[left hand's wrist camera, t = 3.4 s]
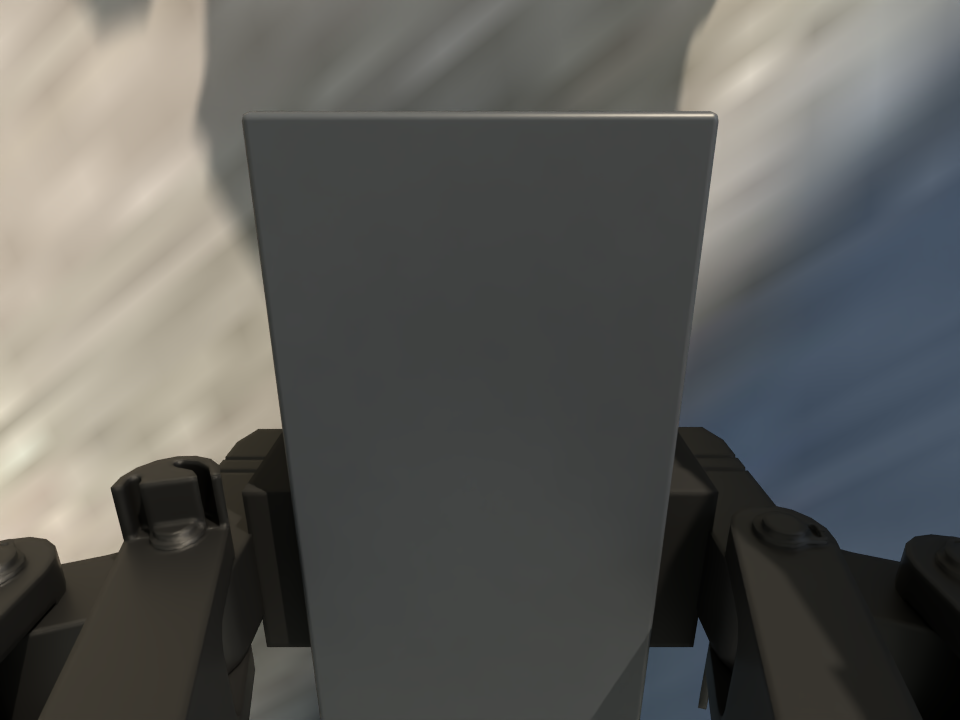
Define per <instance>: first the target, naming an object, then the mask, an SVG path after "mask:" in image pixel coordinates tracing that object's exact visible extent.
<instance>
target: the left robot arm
mask: <svg viewBox="0 0 960 720" xmlns="http://www.w3.org/2000/svg"><path fill="white" fill-rule="evenodd" d="M111 492H112V496H113V499H114V503H115V507H116V511H117V515H118V519H119V523H120V527H121V531H122V535H123V539H124V542H123V544H122V546H121V548H120V551H119V552H118V553H114V554H110V555H106V556H101V557H96V558H91V559H86V560H81V561H76V562H71V563H66V564H61V563H60V560H59V557H58V553H57V550H56V547H55V545H53V544H52V543H51V542H49V541H48V540H47V539H41V538H33V537H26V538H17V539H7V540H2V541H0V720H249V715H250V707H251V699H252V690H253V682H254V674H255V666H254V659H253V653H252V647H251V643H252V641H253V639H254V636H255V634H256V632H257V630H258V628H259V625H260V623H261V621H262V619H263V625H264V631H265V637H266V643H267V647H311V643H310V635H309V627H308V620H307V612H306V604H305V597H304V589H303V582H302V574H301V566H300V559H299V551H298V543H297V536H296V528H295V521H294V513H293V505H292V498H291V490H290V482H289V475H288V467H287V460H286V452H285V444H284V437H283V429H258V430H256V431H254V432H253V433H251V434H250V435H248V436H246V437H245V438H243V439H241V440H240V441H238V442H237V443H236V444H235V446H234V447H233V448H232V449H231V451H230V452H229V453H228V455H227V456H226V459H225V460H223V461H222V462H221V463H220V465H218V464H217V463H215V462H214V461H213V460H211V459H208V458H204V457H199V456H177V457H172V458H167V459H162V460H157V461H154V462H151V463H149V464H146V465H143V466H140V467H137V468H136V469H134V470H132V471H131V472H129V473H127V474H125V475H124V476H122V477H120V479H119V480H118V481H117V482H116V483H115V484H114V485H113V486H112V487H111ZM698 617H699V619H700V622H701V624H702V626H703V628H704V630H705V632H706V635H707V637H708V639H709V641H710V642H709V647H708V653H707V658H706V664H705V670H704V675H703V681H702V687H701V692H700V699H699V705H698V708H702V709H706V708H707V702H708V697H709V706H710V714H711V720H960V538H958V537H952V536H941V535H932V534H930V535H923V536H916V537H914V538H912V539H911V540H910V541H908V542H907V543H906V545H905V548H904V552H903V555H902V558H901V561H900V562H898V561H893V560H888V559H883V558H878V557H873V556H868V555H863V554H858V553H853V552H849V551H845V550H841V549H840V547H839V545H838V543H837V541H836V540H835V538H834V537H833V536H832V535H831V533H830V532H829V531H828V530H827V528H825V527H824V526H822V525H821V524H819V523H818V522H816V521H815V520H814V519H812V518H810V517H808V516H806V515H803V514H801V513H798V512H796V511H794V510H791V509H786V508H782V507H778V506H776V505H775V504H774V503H773V501H772V500H771V499H770V498H769V496H768V495H767V494H766V493H765V491H764V490H763V489H762V488H761V486H760V485H759V484H758V483H757V481H756V480H755V479H754V478H753V476H752V475H751V474H750V473H749V472H748V471H745V467H744V465H743V464H742V463H741V462H740V460H739V459H738V458H735V454H734V453H733V452H732V450H731V449H730V448H729V447H728V445H727V444H726V443H725V442H724V440H722V439H721V438H719V437H718V436H716V435H714V434H713V433H711V432H709V431H708V430H706V429H704V428H703V427H678V433H677V440H676V448H675V456H674V463H673V471H672V479H671V486H670V494H669V501H668V509H667V517H666V524H665V532H664V539H663V547H662V555H661V562H660V570H659V577H658V585H657V593H656V600H655V608H654V615H653V623H652V631H651V638H650V646H649V647H693V645H694V639H695V633H696V627H697V621H698Z"/></svg>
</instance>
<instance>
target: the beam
mask: <svg viewBox="0 0 960 720" xmlns="http://www.w3.org/2000/svg"><path fill="white" fill-rule="evenodd" d="M242 124H243V132H244V139H245V147H246V154H247V162H248V170H249V177H250V185H251V193H252V200H253V208H254V215H255V223H256V231H257V238H258V246H259V254H260V261H261V269H262V277H263V284H264V292H265V299H266V307H267V315H268V322H269V330H270V338H271V345H272V353H273V360H274V368H275V376H276V383H277V391H278V399H279V406H280V414H281V421H282V429H283V437H284V444H285V452H286V460H287V467H288V475H289V482H290V490H291V498H292V505H293V513H294V521H295V528H296V536H297V543H298V551H299V559H300V566H301V574H302V582H303V589H304V597H305V604H306V612H307V620H308V627H309V635H310V643H311V650H312V658H313V666H314V673H315V681H316V688H317V696H318V704H319V711H320V719H321V720H640V714H641V707H642V699H643V692H644V684H645V676H646V669H647V661H648V654H649V646H650V638H651V631H652V623H653V615H654V608H655V600H656V593H657V585H658V577H659V570H660V562H661V555H662V547H663V539H664V532H665V524H666V517H667V509H668V501H669V494H670V486H671V479H672V471H673V463H674V456H675V448H676V440H677V433H678V425H679V418H680V410H681V402H682V395H683V387H684V380H685V372H686V364H687V357H688V349H689V342H690V334H691V326H692V319H693V311H694V304H695V296H696V288H697V281H698V273H699V265H700V258H701V250H702V243H703V235H704V227H705V220H706V212H707V205H708V197H709V189H710V182H711V174H712V167H713V159H714V151H715V144H716V136H717V129H718V116H717V114H715V113H713V112H711V111H250V112H247V113H245V114H244V115H243V119H242Z"/></svg>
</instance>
